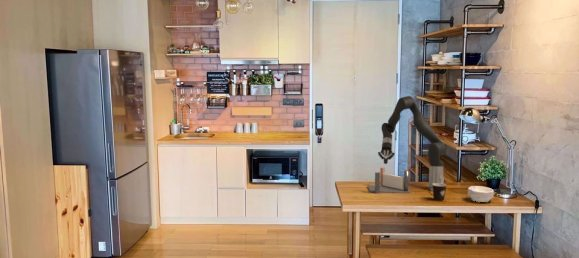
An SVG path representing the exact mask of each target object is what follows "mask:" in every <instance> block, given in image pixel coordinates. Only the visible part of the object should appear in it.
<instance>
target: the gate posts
mask: <svg viewBox="0 0 579 258" xmlns="http://www.w3.org/2000/svg"><path fill="white" fill-rule="evenodd" d="M403 171H404V172H403V173H404V174H403V177H404V191H408V189H409V179H410V174H409V173H410V170H408V169H407V170H406V169H405V170H403ZM374 185H375V193H374V194H381V193H380V172H374Z"/></svg>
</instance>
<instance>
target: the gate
mask: <svg viewBox="0 0 579 258" xmlns="http://www.w3.org/2000/svg"><path fill="white" fill-rule="evenodd" d="M379 171H380V185H384V186H388V187H393V188H397V189H402V190H403V189H404V176H399V175H394V174H390V173H386V169H385V167H380V170H379Z"/></svg>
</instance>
